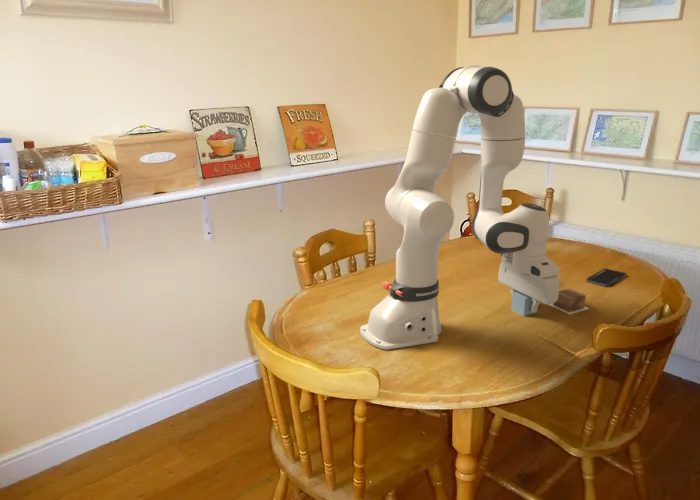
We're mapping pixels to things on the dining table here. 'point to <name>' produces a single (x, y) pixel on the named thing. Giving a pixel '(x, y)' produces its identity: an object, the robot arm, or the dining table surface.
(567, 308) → the walnut block
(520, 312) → the blue block
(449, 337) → the dining table surface
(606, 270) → the phone
